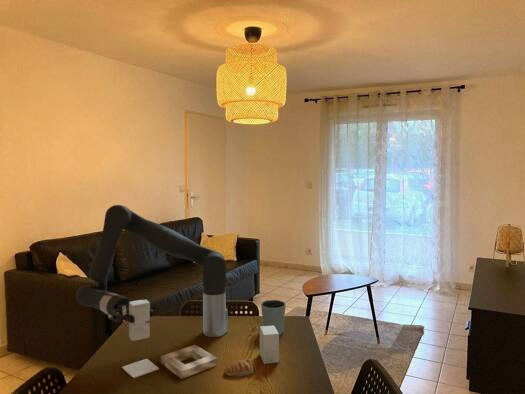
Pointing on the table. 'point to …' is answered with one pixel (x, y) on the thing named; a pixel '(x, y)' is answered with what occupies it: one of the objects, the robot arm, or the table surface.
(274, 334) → the small box
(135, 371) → the white pad
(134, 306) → the skincare box
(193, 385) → the table surface
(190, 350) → the socket block
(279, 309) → the grey green cup
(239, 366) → the pastry
